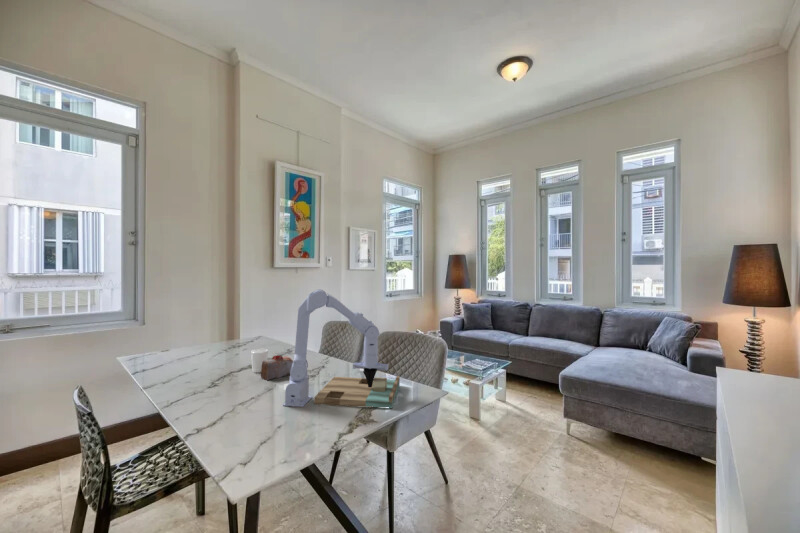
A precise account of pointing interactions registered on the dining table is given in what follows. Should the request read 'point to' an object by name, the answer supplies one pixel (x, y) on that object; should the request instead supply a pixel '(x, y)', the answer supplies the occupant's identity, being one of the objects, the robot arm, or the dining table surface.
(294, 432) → the dining table surface
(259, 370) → the white cup
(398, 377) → the track
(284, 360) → the food item
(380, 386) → the block
